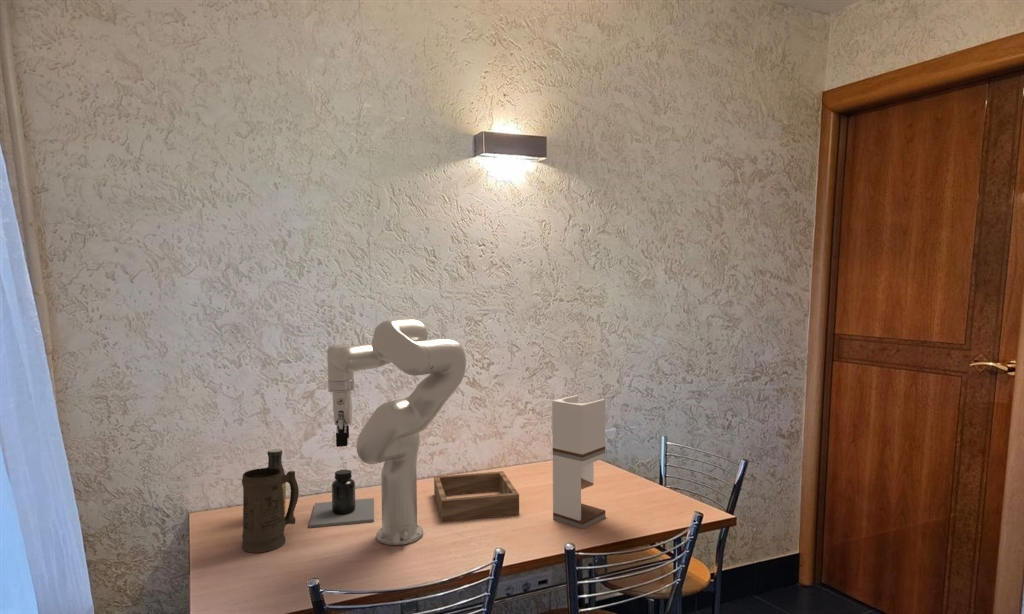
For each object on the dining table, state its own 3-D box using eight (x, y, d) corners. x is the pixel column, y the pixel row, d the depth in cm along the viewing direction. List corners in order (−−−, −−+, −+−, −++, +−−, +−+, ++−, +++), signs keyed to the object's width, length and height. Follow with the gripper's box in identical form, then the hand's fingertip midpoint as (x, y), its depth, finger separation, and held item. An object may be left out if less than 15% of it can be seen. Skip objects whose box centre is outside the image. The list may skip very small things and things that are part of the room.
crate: (519, 514, 181) (519, 494, 181) (442, 521, 176) (441, 501, 175) (503, 488, 203) (503, 471, 203) (434, 494, 198) (434, 476, 198)
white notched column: (582, 528, 169) (582, 405, 168) (553, 519, 177) (552, 400, 175) (605, 517, 178) (604, 399, 177) (576, 508, 185) (575, 395, 184)
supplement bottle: (345, 505, 187) (345, 467, 187) (360, 509, 183) (359, 470, 183) (327, 512, 182) (326, 472, 181) (341, 516, 178) (341, 476, 177)
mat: (373, 521, 176) (373, 519, 176) (309, 527, 172) (309, 525, 172) (373, 500, 193) (373, 498, 193) (315, 505, 189) (315, 503, 189)
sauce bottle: (270, 521, 177) (269, 454, 176) (259, 517, 180) (257, 451, 180) (290, 514, 182) (289, 449, 181) (279, 510, 186) (277, 446, 185)
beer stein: (255, 557, 153) (259, 478, 153) (230, 548, 159) (233, 472, 159) (305, 540, 166) (308, 467, 166) (280, 531, 172) (283, 461, 172)
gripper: (353, 389, 174) (354, 448, 174) (355, 381, 190) (356, 434, 191) (325, 391, 172) (327, 450, 172) (330, 382, 189) (331, 436, 189)
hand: (342, 442), depth 182 cm, fingers open, 9 cm apart
